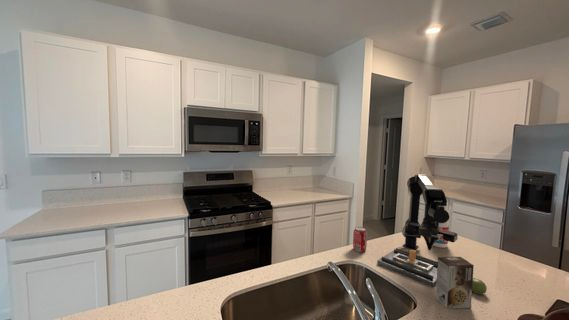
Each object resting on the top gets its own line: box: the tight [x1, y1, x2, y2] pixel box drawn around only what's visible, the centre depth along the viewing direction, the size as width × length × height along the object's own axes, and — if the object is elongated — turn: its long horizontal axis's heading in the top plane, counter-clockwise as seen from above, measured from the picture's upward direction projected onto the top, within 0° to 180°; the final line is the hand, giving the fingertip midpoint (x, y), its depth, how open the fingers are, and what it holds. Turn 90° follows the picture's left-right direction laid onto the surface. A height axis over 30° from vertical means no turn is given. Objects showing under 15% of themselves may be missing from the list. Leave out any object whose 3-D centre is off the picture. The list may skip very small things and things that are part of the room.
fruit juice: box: [433, 200, 450, 249], centre depth 138 cm, size 9×9×28 cm
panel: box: [376, 249, 437, 288], centre depth 112 cm, size 20×24×3 cm
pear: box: [472, 277, 488, 295], centre depth 96 cm, size 6×5×10 cm
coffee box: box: [435, 256, 474, 309], centre depth 87 cm, size 9×6×16 cm
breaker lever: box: [407, 249, 418, 265], centre depth 112 cm, size 3×4×6 cm
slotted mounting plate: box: [380, 247, 438, 280], centre depth 112 cm, size 22×17×1 cm
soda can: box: [352, 226, 368, 253], centre depth 129 cm, size 7×7×12 cm
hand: (429, 250), depth 106 cm, fingers closed
